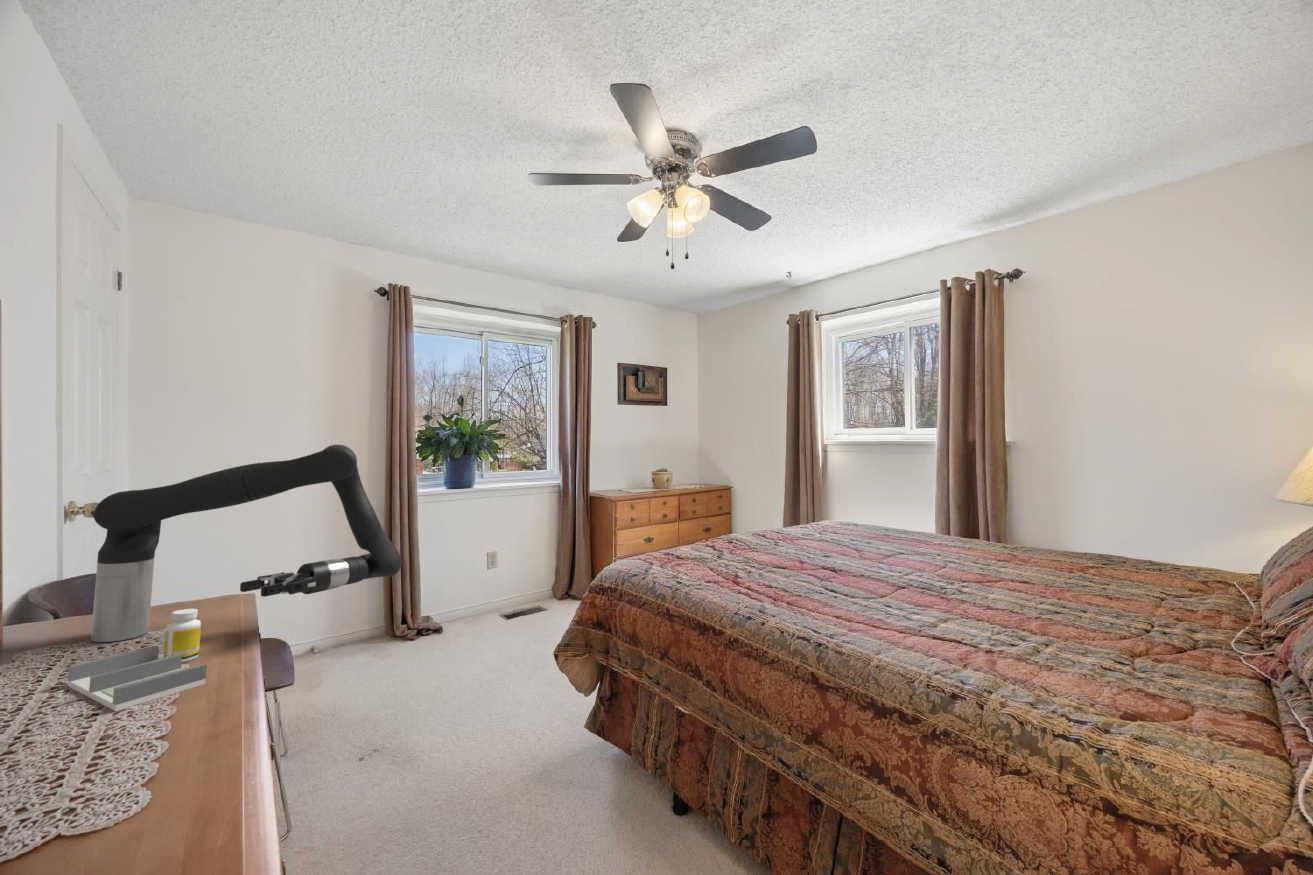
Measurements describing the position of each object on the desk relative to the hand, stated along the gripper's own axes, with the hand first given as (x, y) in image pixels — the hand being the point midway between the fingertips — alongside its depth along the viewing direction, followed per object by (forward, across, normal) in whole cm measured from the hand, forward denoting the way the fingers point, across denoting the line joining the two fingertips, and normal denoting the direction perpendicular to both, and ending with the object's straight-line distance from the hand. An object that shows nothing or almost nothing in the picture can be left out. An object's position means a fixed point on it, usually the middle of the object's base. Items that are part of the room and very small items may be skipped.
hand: (251, 589), depth 117 cm
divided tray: (+22, +8, +12) cm, 26 cm away
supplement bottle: (+12, 0, +12) cm, 17 cm away
